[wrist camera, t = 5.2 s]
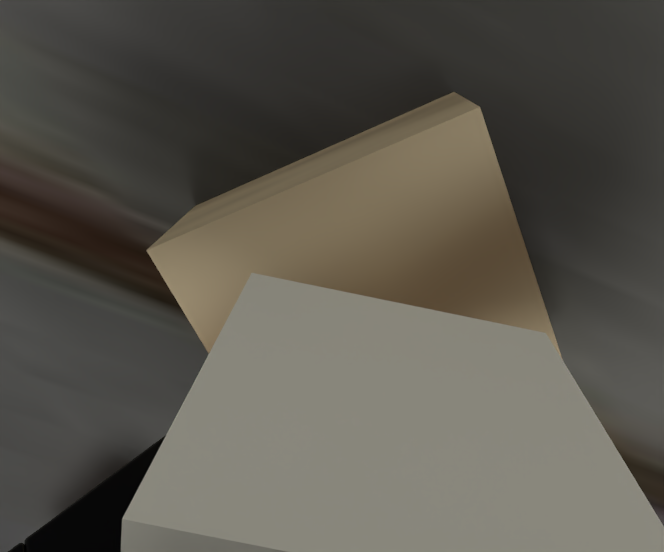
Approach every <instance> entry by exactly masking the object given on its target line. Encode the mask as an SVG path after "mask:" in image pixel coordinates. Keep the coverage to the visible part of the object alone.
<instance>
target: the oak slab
mask: <svg viewBox="0 0 664 552" xmlns="http://www.w3.org/2000/svg"><path fill="white" fill-rule="evenodd" d="M146 251H147V252H148V254H149V256H150V257H151V259H152V261H153V262H154V264H155V265H156V267H157V269H158V270H159V272H160V274H161V275H162V277H163V279H164V280H165V282H166V284H167V285H168V287H169V289H170V290H171V292H172V294H173V295H174V297H175V298H176V300H177V302H178V303H179V305H180V307H181V308H182V310H183V312H184V313H185V315H186V317H187V318H188V320H189V322H190V323H191V325H192V327H193V328H194V330H195V332H196V333H197V335H198V336H199V338H200V340H201V341H202V343H203V345H204V346H205V348H206V350H207V351H208V353H210V351H211V349H212V347H213V345H214V343H215V341H216V340H217V338H218V336H219V334H220V332H221V330H222V328H223V326H224V324H225V322H226V321H227V319H228V317H229V315H230V313H231V311H232V309H233V307H234V305H235V303H236V302H237V300H238V298H239V296H240V294H241V292H242V290H243V288H244V286H245V284H246V283H247V281H248V279H249V277H250V275H251V273H256V274H260V275H265V276H270V277H275V278H280V279H285V280H290V281H295V282H299V283H304V284H309V285H314V286H319V287H324V288H329V289H334V290H339V291H343V292H348V293H353V294H358V295H363V296H368V297H373V298H378V299H382V300H387V301H392V302H397V303H402V304H407V305H412V306H417V307H421V308H426V309H431V310H436V311H441V312H446V313H451V314H456V315H461V316H465V317H470V318H475V319H480V320H485V321H490V322H495V323H500V324H504V325H509V326H514V327H519V328H524V329H529V330H534V331H539V332H543V333H546V334H547V336H548V337H549V339H550V340H551V342H552V344H553V345H554V347H555V349H556V350H557V352H558V354H559V355H560V357H561V354H560V351H559V348H558V344H557V341H556V338H555V335H554V332H553V329H552V326H551V323H550V320H549V317H548V314H547V311H546V308H545V305H544V302H543V298H542V295H541V292H540V289H539V286H538V283H537V280H536V277H535V274H534V271H533V268H532V265H531V262H530V259H529V256H528V252H527V249H526V246H525V243H524V240H523V237H522V234H521V231H520V228H519V225H518V222H517V219H516V216H515V213H514V210H513V206H512V203H511V200H510V197H509V194H508V191H507V188H506V185H505V182H504V179H503V176H502V173H501V170H500V167H499V164H498V161H497V157H496V154H495V151H494V148H493V145H492V142H491V139H490V136H489V133H488V130H487V127H486V124H485V121H484V118H483V115H482V111H481V108H480V107H479V106H478V105H476V104H474V103H473V102H471V101H469V100H467V99H466V98H464V97H462V96H460V95H459V94H457V93H455V92H452V93H450V94H448V95H446V96H443V97H441V98H439V99H437V100H434V101H432V102H430V103H427V104H425V105H423V106H421V107H418V108H416V109H414V110H412V111H409V112H407V113H405V114H403V115H400V116H398V117H396V118H393V119H391V120H389V121H387V122H384V123H382V124H380V125H378V126H375V127H373V128H371V129H368V130H366V131H364V132H362V133H359V134H357V135H355V136H353V137H350V138H348V139H346V140H344V141H341V142H339V143H337V144H334V145H332V146H330V147H328V148H325V149H323V150H321V151H319V152H316V153H314V154H312V155H310V156H307V157H305V158H303V159H300V160H298V161H296V162H294V163H291V164H289V165H287V166H285V167H282V168H280V169H278V170H276V171H273V172H271V173H269V174H266V175H264V176H262V177H260V178H257V179H255V180H253V181H251V182H248V183H246V184H244V185H242V186H239V187H237V188H235V189H232V190H230V191H228V192H226V193H223V194H221V195H219V196H217V197H214V198H212V199H210V200H208V201H205V202H203V203H201V204H198V205H196V206H194V207H193V208H192V209H191V210H190V211H189V212H188V213H187V214H186V215H185V216H183V217H182V218H181V219H180V220H179V221H178V222H177V223H176V224H175V225H174V226H172V227H171V228H170V229H169V230H168V231H167V232H166V233H165V234H164V235H163V236H161V237H160V238H159V239H158V240H157V241H156V242H155V243H154V244H153V245H152V246H150V247H149V248H148V249H147V250H146ZM561 359H562V357H561Z"/></svg>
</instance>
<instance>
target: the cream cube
mask: <svg viewBox="0 0 664 552" xmlns="http://www.w3.org/2000/svg"><path fill="white" fill-rule="evenodd" d="M121 552H664V526H663V525H662V523H661V521H660V520H659V518H658V516H657V515H656V513H655V512H654V510H653V508H652V507H651V505H650V503H649V502H648V500H647V498H646V497H645V495H644V493H643V492H642V490H641V489H640V487H639V485H638V484H637V482H636V480H635V479H634V477H633V475H632V474H631V472H630V470H629V469H628V467H627V465H626V464H625V462H624V461H623V459H622V457H621V456H620V454H619V452H618V451H617V449H616V447H615V446H614V444H613V442H612V441H611V439H610V438H609V436H608V434H607V433H606V431H605V429H604V428H603V426H602V424H601V423H600V421H599V419H598V418H597V416H596V414H595V413H594V411H593V410H592V408H591V406H590V405H589V403H588V401H587V400H586V398H585V396H584V395H583V393H582V391H581V390H580V388H579V387H578V385H577V383H576V382H575V380H574V378H573V377H572V375H571V373H570V372H569V370H568V368H567V367H566V365H565V363H564V362H563V360H562V359H561V357H560V355H559V354H558V352H557V350H556V349H555V347H554V345H553V344H552V342H551V340H550V339H549V337H548V336H547V334H546V333H543V332H539V331H534V330H529V329H524V328H519V327H514V326H509V325H504V324H500V323H495V322H490V321H485V320H480V319H475V318H470V317H465V316H461V315H456V314H451V313H446V312H441V311H436V310H431V309H426V308H421V307H417V306H412V305H407V304H402V303H397V302H392V301H387V300H382V299H378V298H373V297H368V296H363V295H358V294H353V293H348V292H343V291H339V290H334V289H329V288H324V287H319V286H314V285H309V284H304V283H299V282H295V281H290V280H285V279H280V278H275V277H270V276H265V275H260V274H256V273H251V275H250V277H249V279H248V281H247V283H246V284H245V286H244V288H243V290H242V292H241V294H240V296H239V298H238V300H237V302H236V303H235V305H234V307H233V309H232V311H231V313H230V315H229V317H228V319H227V321H226V322H225V324H224V326H223V328H222V330H221V332H220V334H219V336H218V338H217V340H216V341H215V343H214V345H213V347H212V349H211V351H210V353H209V355H208V357H207V359H206V360H205V362H204V364H203V366H202V368H201V370H200V372H199V374H198V376H197V378H196V379H195V381H194V383H193V385H192V387H191V389H190V391H189V393H188V395H187V397H186V398H185V400H184V402H183V404H182V406H181V408H180V410H179V412H178V414H177V416H176V417H175V419H174V421H173V423H172V425H171V427H170V429H169V431H168V433H167V435H166V436H165V438H164V440H163V442H162V444H161V446H160V448H159V450H158V452H157V454H156V455H155V457H154V459H153V461H152V463H151V465H150V467H149V469H148V471H147V473H146V474H145V476H144V478H143V480H142V482H141V484H140V486H139V488H138V490H137V492H136V493H135V495H134V497H133V499H132V501H131V503H130V505H129V507H128V509H127V511H126V512H125V514H124V516H123V518H122V532H121Z"/></svg>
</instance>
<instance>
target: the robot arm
mask: <svg viewBox="0 0 664 552" xmlns="http://www.w3.org/2000/svg"><path fill="white" fill-rule="evenodd" d="M164 438H165V436H164V437H163V438H161V439H160V440H159V441H157V442H156V443H155V444H153V445H152V446H151V447H149V448H148V449H147V450H145V451H144V452H143V453H141V454H140V455H139V456H137V457H136V458H134V459H133V460H132V461H130V462H129V463H128V464H126V465H125V466H124V467H122V468H121V469H120V470H118V471H117V472H116V473H114V474H113V475H112V476H110V477H109V478H107V479H106V480H105V481H103V482H102V483H101V484H99V485H98V486H97V487H95V488H94V489H93V490H91V491H90V492H89V493H87V494H86V495H84V496H83V497H82V498H80V499H79V500H78V501H76V502H75V503H74V504H72V505H71V506H70V507H68V508H67V509H66V510H64V511H63V512H62V513H60V514H59V515H57V516H56V517H55V518H53V519H52V520H51V521H49V522H48V523H47V524H45V525H44V526H43V527H41V528H40V529H39V530H37V531H36V532H34V533H33V534H32V535H30V536H29V537H28V538H26V540H25V545H24V544H23V543H19V544H18V545H17V546H15V547H14V548H13V549H11V550H10V551H8V552H121V532H122V518H123V516H124V514H125V512H126V511H127V509H128V507H129V505H130V503H131V501H132V499H133V497H134V495H135V493H136V492H137V490H138V488H139V486H140V484H141V482H142V480H143V478H144V476H145V474H146V473H147V471H148V469H149V467H150V465H151V463H152V461H153V459H154V457H155V455H156V454H157V452H158V450H159V448H160V446H161V444H162V442H163V440H164Z"/></svg>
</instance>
